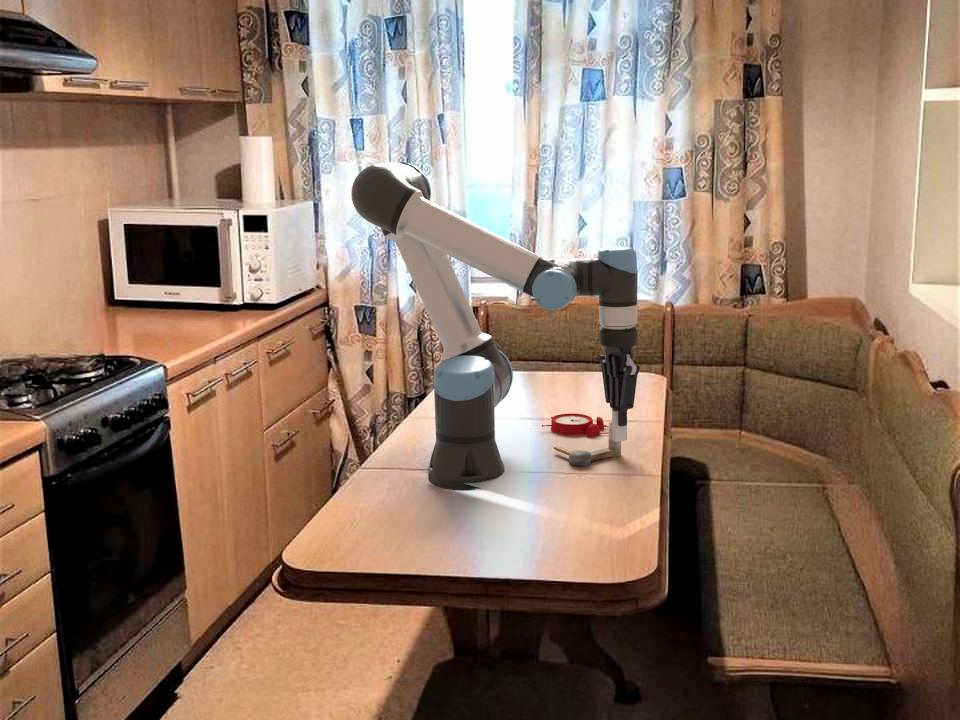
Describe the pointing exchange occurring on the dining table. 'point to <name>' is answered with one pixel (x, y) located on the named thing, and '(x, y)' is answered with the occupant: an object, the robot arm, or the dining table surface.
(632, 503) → the dining table surface
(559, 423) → the alarm clock
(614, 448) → the peg lever
